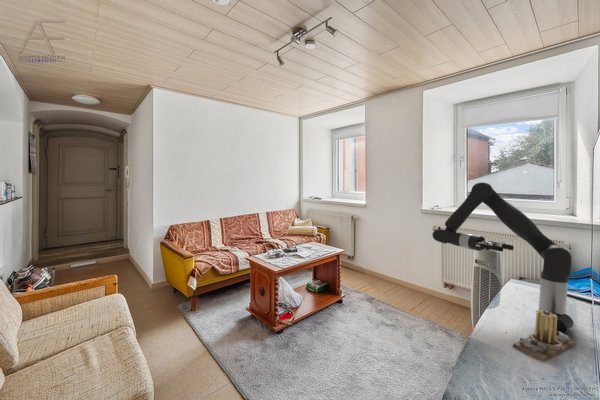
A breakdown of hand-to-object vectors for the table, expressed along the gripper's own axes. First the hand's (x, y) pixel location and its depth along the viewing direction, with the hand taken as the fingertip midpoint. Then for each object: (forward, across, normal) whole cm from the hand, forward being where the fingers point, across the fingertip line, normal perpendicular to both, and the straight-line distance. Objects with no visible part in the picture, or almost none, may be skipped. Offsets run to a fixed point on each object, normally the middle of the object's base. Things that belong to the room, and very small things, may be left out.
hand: (508, 248), depth 121 cm
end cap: (+16, +8, +32) cm, 37 cm away
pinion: (+19, -11, +31) cm, 38 cm away
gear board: (+19, -11, +32) cm, 39 cm away
